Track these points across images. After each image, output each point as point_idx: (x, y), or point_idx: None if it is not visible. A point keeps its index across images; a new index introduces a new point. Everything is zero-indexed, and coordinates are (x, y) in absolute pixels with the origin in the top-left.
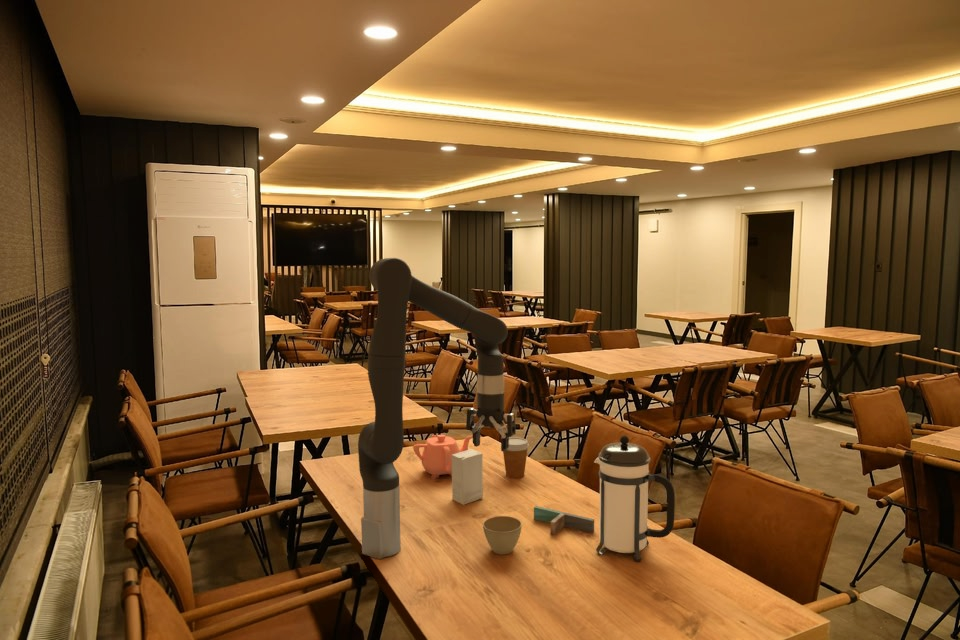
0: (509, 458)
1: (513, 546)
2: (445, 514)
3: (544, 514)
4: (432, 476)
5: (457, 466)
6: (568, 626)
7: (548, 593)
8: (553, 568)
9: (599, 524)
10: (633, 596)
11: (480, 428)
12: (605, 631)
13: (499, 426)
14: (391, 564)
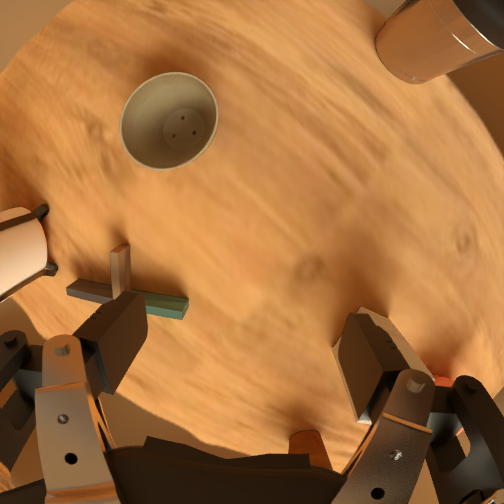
0: (314, 456)
1: (150, 120)
2: (380, 245)
3: (159, 302)
4: (436, 376)
5: (408, 357)
6: (54, 22)
7: (77, 54)
8: (83, 119)
9: (24, 237)
10: (5, 122)
11: (361, 443)
12: (26, 43)
13: (41, 419)
14: (357, 13)
